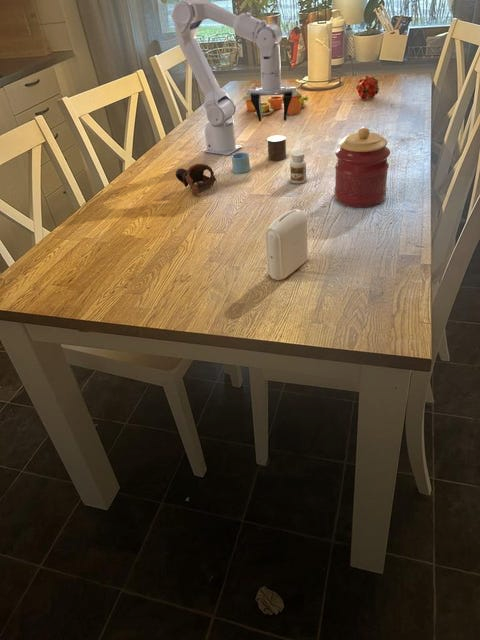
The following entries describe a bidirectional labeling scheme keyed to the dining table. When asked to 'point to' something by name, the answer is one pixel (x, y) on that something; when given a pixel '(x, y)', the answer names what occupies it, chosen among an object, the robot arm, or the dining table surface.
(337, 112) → the dining table surface
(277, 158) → the base chip
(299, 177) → the pill bottle
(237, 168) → the cup
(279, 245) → the photo printer
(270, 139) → the top chip
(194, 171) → the pottery mug
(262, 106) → the toy tea set
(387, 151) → the kitchen canister
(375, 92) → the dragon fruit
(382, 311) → the dining table surface
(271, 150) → the middle chip
